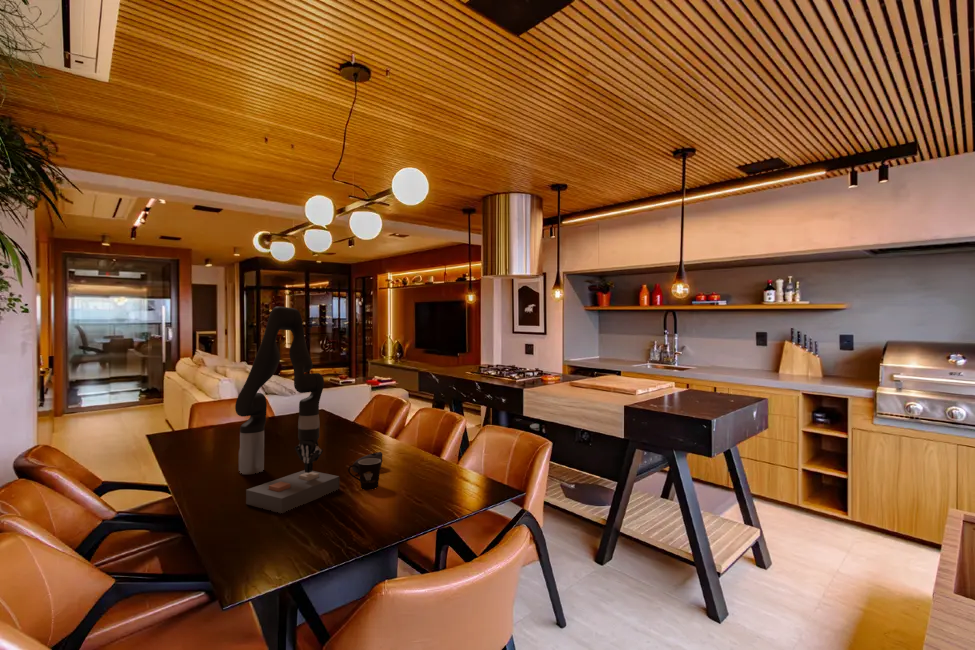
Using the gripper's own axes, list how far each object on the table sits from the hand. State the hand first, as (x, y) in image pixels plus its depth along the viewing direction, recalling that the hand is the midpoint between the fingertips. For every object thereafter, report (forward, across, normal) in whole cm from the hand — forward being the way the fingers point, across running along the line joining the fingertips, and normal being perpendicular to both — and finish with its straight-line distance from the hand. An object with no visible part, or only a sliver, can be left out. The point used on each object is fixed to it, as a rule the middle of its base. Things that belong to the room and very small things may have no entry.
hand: (308, 472), depth 178 cm
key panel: (+7, 0, -6) cm, 9 cm away
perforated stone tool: (+7, +3, +30) cm, 31 cm away
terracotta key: (+5, 0, -13) cm, 14 cm away
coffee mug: (+7, +16, +14) cm, 22 cm away
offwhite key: (+5, 0, 0) cm, 5 cm away
